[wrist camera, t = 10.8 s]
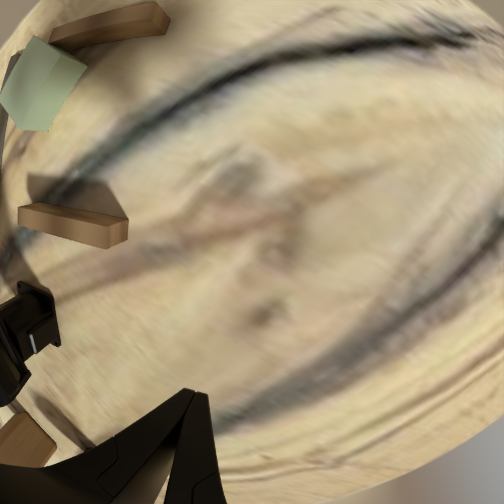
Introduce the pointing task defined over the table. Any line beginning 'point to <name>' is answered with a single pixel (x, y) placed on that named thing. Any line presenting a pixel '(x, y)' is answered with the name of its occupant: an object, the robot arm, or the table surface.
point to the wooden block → (25, 443)
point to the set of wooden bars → (67, 38)
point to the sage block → (40, 85)
